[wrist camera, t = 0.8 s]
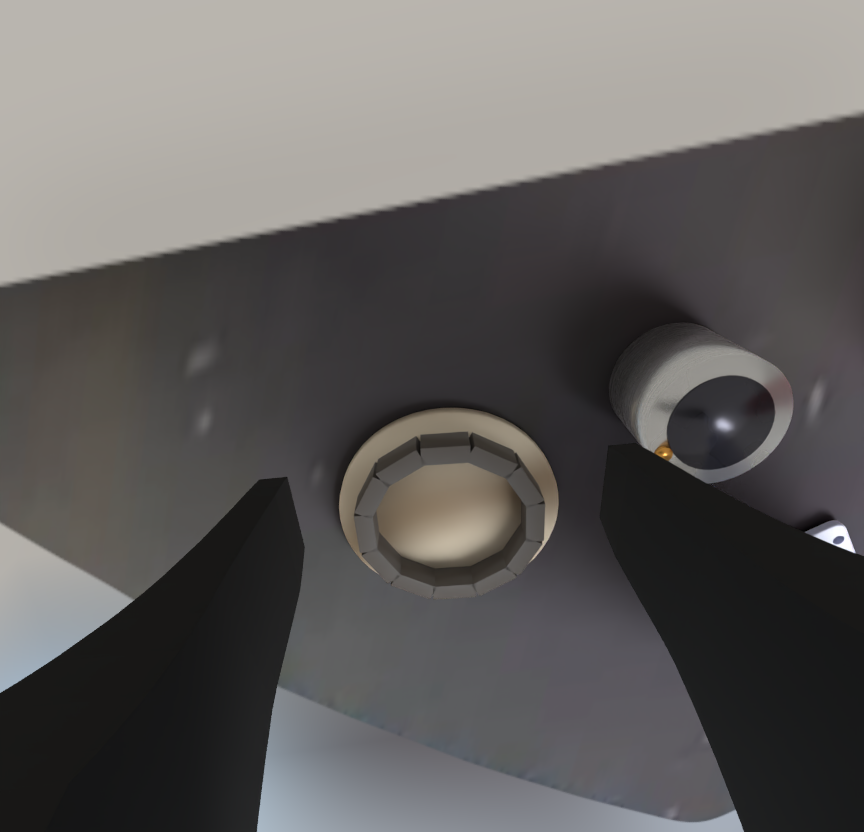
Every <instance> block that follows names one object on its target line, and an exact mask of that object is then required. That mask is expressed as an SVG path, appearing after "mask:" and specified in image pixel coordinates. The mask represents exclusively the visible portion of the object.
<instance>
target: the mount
mask: <svg viewBox="0 0 864 832" xmlns="http://www.w3.org/2000/svg"><path fill="white" fill-rule="evenodd" d="M558 506H559V500H558V489H557V484H556V480H555V477H554V474H553V472H552V469H551V467H550V464H549V462H548V460H547V459H546V457H545V455H544V453H543V452H542V450H541V449H540V448H539V446H538V445H537V444H536V443H535V441H534V440H533V439H531V438H530V437H529V436H528V435H527V434H526V433H525V432H524V431H522V430H521V429H520V428H518V427H517V426H515V425H514V424H512V423H510V422H508V421H506V420H505V419H503V418H500V417H498V416H495V415H492V414H490V413H487V412H482V411H478V410H474V409H466V408H436V409H428V410H424V411H420V412H416V413H412V414H409V415H407V416H404V417H402V418H399V419H397V420H395V421H393V422H391V423H389V424H388V425H386V426H384V427H383V428H381V429H380V430H379V431H377V432H376V433H374V434H373V435H372V436H371V437H370V438H369V439H368V440H367V441H366V442H365V443H364V444H363V445H362V446H361V447H360V449H359V450H358V451H357V452H356V454H355V455H354V457H353V459H352V460H351V462H350V464H349V466H348V468H347V471H346V473H345V476H344V480H343V484H342V488H341V492H340V500H339V512H340V520H341V524H342V528H343V531H344V533H345V536H346V538H347V540H348V542H349V544H350V545H351V547H352V549H353V550H354V552H355V553H356V554H357V555H358V556H359V558H360V559H361V560H362V561H363V562H364V563H365V564H366V565H367V566H369V567H370V568H371V569H372V570H374V571H375V572H376V573H378V574H379V575H380V576H381V577H382V578H383V579H384V580H385V581H386V582H387V583H390V582H391V586H394V587H396V588H399V589H402V590H405V591H408V592H411V593H414V594H417V595H419V596H422V597H425V598H428V599H430V598H431V596H432V595H433V597H434V600H436V599H452V598H467V597H476V592H477V593H478V594H479V595H480V596H481V595H483V594H485V593H487V592H489V591H491V590H493V589H495V588H497V587H499V586H501V585H503V584H505V583H507V582H509V581H511V580H513V579H515V578H517V576H516V574H518V575H520V574H521V573H522V572H523V570H524V569H525V567H526V566H527V565H528V563H530V562H531V561H532V560H533V559H534V558H535V557H536V556H537V554H538V553H539V552H540V551H541V550H542V548H543V547H544V545H545V544H546V542H547V541H548V539H549V537H550V535H551V533H552V531H553V528H554V525H555V522H556V519H557V513H558Z"/></svg>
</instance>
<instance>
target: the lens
mask: <svg viewBox="0 0 864 832" xmlns="http://www.w3.org/2000/svg"><path fill="white" fill-rule="evenodd" d="M609 398H610V402H611V405H612V408H613V410H614V412H615V413H616V415H617V416H618V417H619V419H620V420H621V421H622V422H623V424H624V425H625V426H626V428H627V429H628V430H629V431H630V433H631V434H632V435H633V436H634V438H635V439H636V440H637V441H638V443H639V444H640V445H641V446H642V447H644V448H646V449H648V450H649V451H651V452H653V453H655V454H657V455H658V456H660V457H662V458H664V459H665V460H667V461H669V462H671V463H672V464H674V465H676V466H677V467H679V468H681V469H683V470H684V471H686V472H688V473H689V474H691V475H693V476H695V477H696V478H698V479H700V480H702V481H703V482H705V483H707V484H708V483H716V482H721V481H725V480H728V479H731V478H734V477H736V476H739V475H741V474H743V473H745V472H747V471H748V470H750V469H752V468H753V467H755V466H756V465H758V464H759V463H760V462H762V461H763V460H764V459H765V458H766V457H767V456H768V455H769V454H770V453H771V452H772V451H773V450H774V449H775V448H776V447H777V445H778V444H779V443H780V441H781V440H782V438H783V437H784V435H785V433H786V431H787V429H788V427H789V424H790V421H791V418H792V413H793V393H792V390H791V386H790V384H789V382H788V380H787V378H786V377H785V376H784V374H783V373H782V372H781V371H780V370H779V369H778V368H777V367H776V366H774V365H773V364H771V363H770V362H768V361H766V360H764V359H762V358H761V357H759V356H757V355H755V354H753V353H751V352H750V351H748V350H746V349H744V348H742V347H741V346H739V345H737V344H735V343H733V342H732V341H730V340H728V339H726V338H724V337H723V336H721V335H719V334H717V333H715V332H713V331H712V330H710V329H708V328H706V327H704V326H701V325H698V324H694V323H687V322H677V323H670V324H666V325H662V326H659V327H656V328H654V329H651V330H650V331H648V332H646V333H644V334H643V335H641V336H640V337H638V338H637V339H636V340H634V341H633V342H632V343H631V344H630V345H629V346H628V347H627V348H626V349H625V350H624V351H623V353H622V354H621V355H620V357H619V358H618V360H617V362H616V363H615V366H614V368H613V370H612V373H611V377H610V382H609Z"/></svg>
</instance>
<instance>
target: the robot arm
mask: <svg viewBox="0 0 864 832" xmlns="http://www.w3.org/2000/svg"><path fill="white" fill-rule="evenodd" d="M600 519H601V521H602V524H603V527H604V529H605V532H606V535H607V537H608V540H609V542H610V545H611V547H612V549H613V552H614V554H615V556H616V558H617V560H618V562H619V564H620V566H621V567H622V569H623V571H624V573H625V574H626V576H627V578H628V580H629V582H630V583H631V585H632V587H633V589H634V591H635V592H636V594H637V596H638V598H639V599H640V601H641V603H642V605H643V606H644V608H645V610H646V612H647V613H648V615H649V617H650V619H651V620H652V622H653V624H654V626H655V627H656V629H657V631H658V633H659V634H660V636H661V638H662V640H663V641H664V643H665V645H666V647H667V649H668V651H669V653H670V655H671V657H672V659H673V661H674V663H675V665H676V667H677V669H678V671H679V674H680V676H681V678H682V680H683V683H684V685H685V687H686V689H687V692H688V694H689V696H690V698H691V701H692V703H693V705H694V707H695V710H696V712H697V714H698V717H699V719H700V721H701V724H702V726H703V729H704V731H705V733H706V736H707V738H708V741H709V743H710V745H711V748H712V750H713V753H714V755H715V757H716V760H717V762H718V765H719V768H720V770H721V773H722V775H723V778H724V780H725V783H726V786H727V788H728V791H729V793H730V796H731V798H732V801H733V804H734V806H735V809H736V811H737V814H738V816H739V819H740V822H741V824H742V827H743V830H744V832H864V556H862V555H859V554H856V553H855V550H854V548H853V545H852V542H851V540H850V537H849V534H848V532H847V529H846V527H845V526H844V525H843V524H842V523H841V522H839V521H837V520H831V521H828V522H826V523H823V524H821V525H819V526H817V527H815V528H812V529H810V530H808V531H806V532H803V531H800V530H798V529H796V528H793V527H791V526H789V525H787V524H784V523H782V522H780V521H778V520H776V519H774V518H772V517H770V516H768V515H766V514H764V513H762V512H760V511H758V510H756V509H754V508H752V507H750V506H748V505H746V504H744V503H742V502H740V501H738V500H736V499H734V498H732V497H731V496H729V495H727V494H725V493H723V492H721V491H719V490H718V489H716V488H714V487H712V486H710V485H709V484H707V483H705V482H703V481H702V480H700V479H698V478H696V477H695V476H693V475H691V474H689V473H688V472H686V471H684V470H683V469H681V468H679V467H677V466H676V465H674V464H672V463H671V462H669V461H667V460H665V459H664V458H662V457H660V456H658V455H657V454H655V453H653V452H651V451H649V450H648V449H646V448H644V447H642V446H640V445H638V444H636V443H632V444H622V445H611V446H608V454H607V462H606V470H605V478H604V486H603V494H602V503H601V511H600ZM304 548H305V547H304V543H303V539H302V535H301V530H300V526H299V522H298V518H297V514H296V510H295V506H294V502H293V498H292V494H291V490H290V486H289V482H288V478H287V477H282V478H272V479H262V480H259V481H258V482H257V483H256V484H255V485H254V486H253V487H252V488H251V489H250V490H249V491H248V492H247V493H246V494H245V495H244V496H243V497H242V498H241V499H240V500H239V501H238V503H237V504H236V505H235V506H234V507H233V508H232V509H231V510H230V511H229V512H228V513H227V514H226V515H225V516H224V517H223V518H222V519H221V520H220V521H219V523H218V524H217V525H216V526H215V527H214V528H213V529H212V530H211V531H210V532H209V533H208V534H207V535H206V536H205V537H204V538H203V539H202V540H201V541H200V542H199V543H198V544H197V545H196V546H195V547H194V548H193V549H191V550H190V551H189V552H188V553H187V554H186V555H185V556H184V557H183V558H182V559H181V560H180V561H179V562H178V563H177V564H176V565H174V566H173V567H172V568H171V569H170V570H169V571H168V572H167V573H166V574H165V575H164V576H163V577H161V578H160V579H159V580H158V581H157V582H156V583H155V584H153V585H152V586H151V587H150V588H149V589H148V590H146V591H145V592H144V593H143V594H142V595H140V596H139V597H138V598H137V599H135V600H134V601H133V602H132V603H130V604H129V605H128V606H127V607H125V608H124V609H123V610H122V611H120V612H119V613H118V614H116V615H115V616H114V617H112V618H111V619H110V620H109V621H107V622H106V623H104V624H103V625H102V626H100V627H99V628H97V629H96V630H94V631H93V632H92V633H90V634H89V635H87V636H86V637H85V638H83V639H82V640H80V641H79V642H78V643H76V644H75V645H73V646H72V647H70V648H69V649H68V650H66V651H65V652H63V653H62V654H61V655H59V656H58V657H56V658H55V659H53V660H52V661H50V662H49V663H47V664H46V665H44V666H43V667H41V668H39V669H38V670H36V671H35V672H33V673H32V674H30V675H29V676H27V677H25V678H24V679H22V680H21V681H19V682H18V683H16V684H14V685H13V686H11V687H9V688H8V689H6V690H5V691H3V692H1V693H0V832H257V824H258V815H259V807H260V799H261V790H262V782H263V774H264V765H265V758H266V751H267V744H268V737H269V729H270V722H271V715H272V708H273V703H274V699H275V694H276V688H277V684H278V680H279V676H280V672H281V667H282V663H283V659H284V655H285V651H286V647H287V643H288V639H289V634H290V630H291V626H292V622H293V618H294V614H295V609H296V605H297V601H298V596H299V592H300V586H301V578H302V569H303V559H304Z"/></svg>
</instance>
